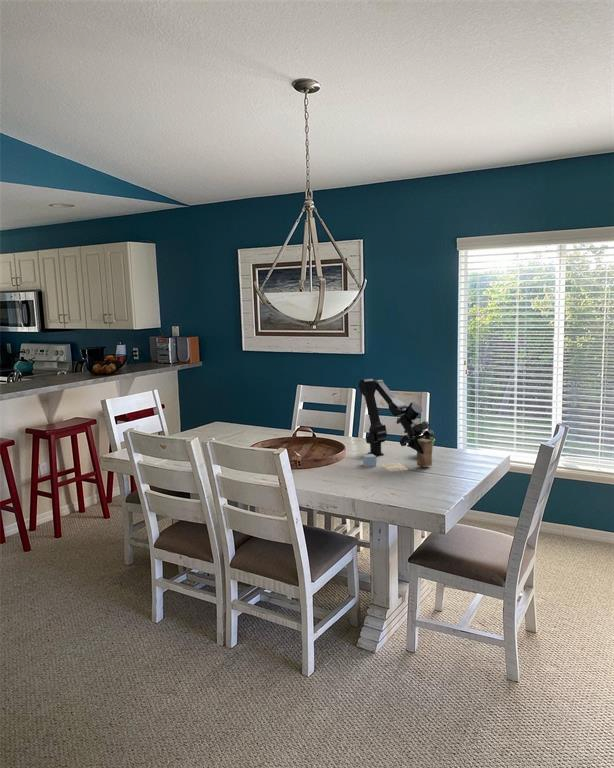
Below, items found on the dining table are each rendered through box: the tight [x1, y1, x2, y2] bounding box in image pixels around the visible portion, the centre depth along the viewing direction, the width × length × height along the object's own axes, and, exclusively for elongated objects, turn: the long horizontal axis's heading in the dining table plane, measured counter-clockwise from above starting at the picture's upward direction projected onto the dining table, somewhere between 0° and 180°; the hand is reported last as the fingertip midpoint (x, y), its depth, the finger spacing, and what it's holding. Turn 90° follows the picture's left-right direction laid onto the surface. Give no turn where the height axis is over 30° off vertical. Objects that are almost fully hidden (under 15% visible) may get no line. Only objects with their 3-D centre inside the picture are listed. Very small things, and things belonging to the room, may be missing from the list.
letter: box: [381, 462, 409, 472], centre depth 278 cm, size 12×9×1 cm
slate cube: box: [362, 454, 377, 468], centre depth 283 cm, size 5×5×5 cm
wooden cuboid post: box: [416, 439, 433, 468], centre depth 276 cm, size 5×5×12 cm
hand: (426, 452), depth 274 cm, fingers closed on wooden cuboid post, 5 cm apart
